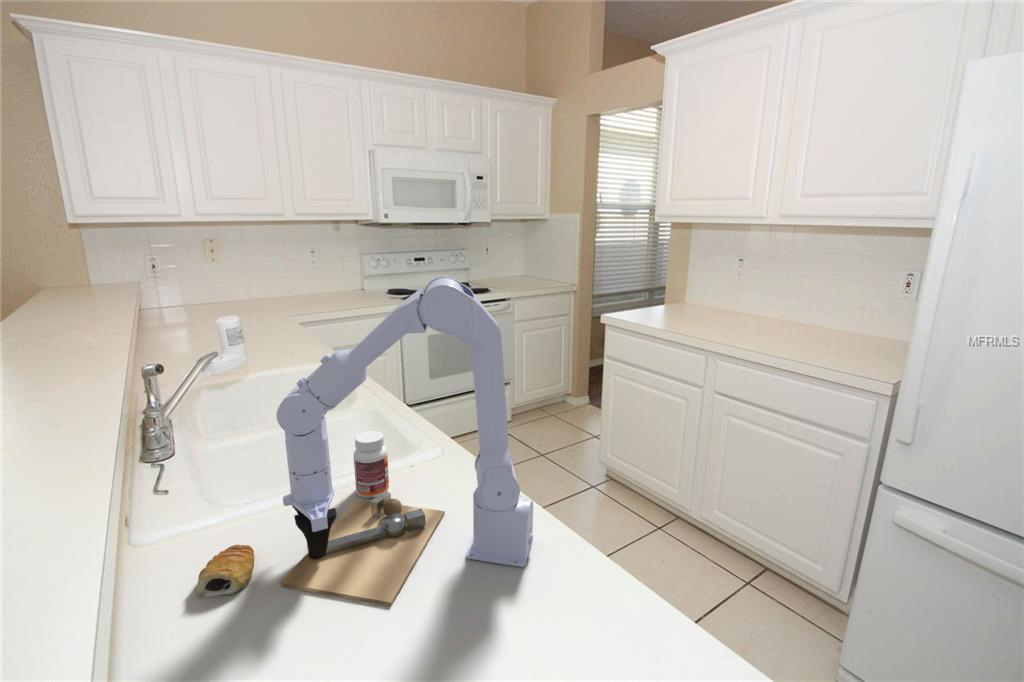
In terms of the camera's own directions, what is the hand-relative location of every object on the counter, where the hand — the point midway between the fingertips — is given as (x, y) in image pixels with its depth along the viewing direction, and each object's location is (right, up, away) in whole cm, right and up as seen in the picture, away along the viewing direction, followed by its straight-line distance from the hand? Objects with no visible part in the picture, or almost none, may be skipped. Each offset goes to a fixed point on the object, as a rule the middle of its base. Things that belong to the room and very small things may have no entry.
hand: (317, 545), depth 77 cm
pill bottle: (+3, +3, +19) cm, 20 cm away
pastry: (-12, -4, -4) cm, 13 cm away
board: (+7, -1, +3) cm, 8 cm away
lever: (+7, 0, +4) cm, 8 cm away
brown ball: (+9, +2, +10) cm, 14 cm away
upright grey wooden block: (+7, +1, +12) cm, 14 cm away
